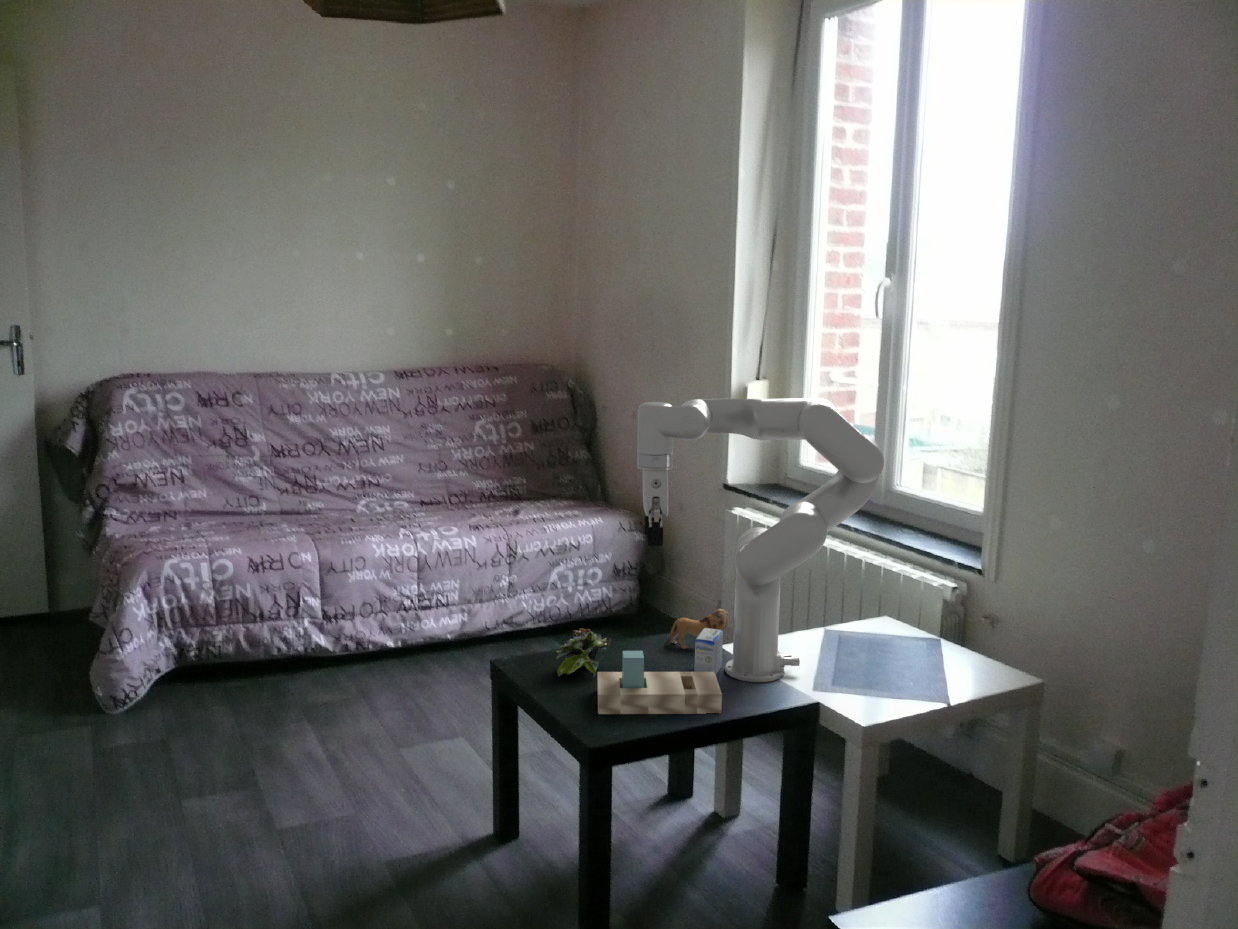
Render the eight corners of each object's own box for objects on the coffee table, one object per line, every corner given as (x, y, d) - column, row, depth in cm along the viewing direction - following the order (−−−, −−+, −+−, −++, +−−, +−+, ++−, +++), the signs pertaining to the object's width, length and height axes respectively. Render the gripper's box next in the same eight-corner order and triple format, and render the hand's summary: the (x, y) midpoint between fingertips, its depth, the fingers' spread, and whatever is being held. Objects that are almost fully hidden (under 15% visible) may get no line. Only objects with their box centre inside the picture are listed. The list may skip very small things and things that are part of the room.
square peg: (641, 698, 216) (642, 650, 215) (643, 705, 212) (644, 657, 211) (621, 698, 216) (622, 651, 214) (623, 706, 212) (623, 658, 210)
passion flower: (580, 690, 234) (604, 640, 237) (605, 698, 225) (629, 646, 228) (540, 668, 229) (564, 617, 233) (563, 675, 220) (588, 622, 223)
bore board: (713, 690, 221) (714, 671, 220) (721, 713, 209) (721, 694, 208) (597, 690, 220) (597, 671, 219) (598, 714, 208) (598, 694, 207)
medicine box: (702, 665, 235) (703, 627, 234) (722, 667, 234) (723, 629, 232) (693, 677, 228) (694, 638, 226) (714, 680, 226) (715, 641, 225)
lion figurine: (726, 643, 249) (727, 606, 248) (729, 651, 244) (730, 613, 242) (663, 642, 249) (664, 605, 248) (664, 650, 244) (665, 612, 242)
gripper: (676, 468, 218) (674, 550, 221) (669, 454, 235) (667, 530, 238) (639, 468, 218) (638, 550, 221) (635, 454, 235) (634, 530, 238)
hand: (653, 539), depth 229 cm, fingers open, 9 cm apart
